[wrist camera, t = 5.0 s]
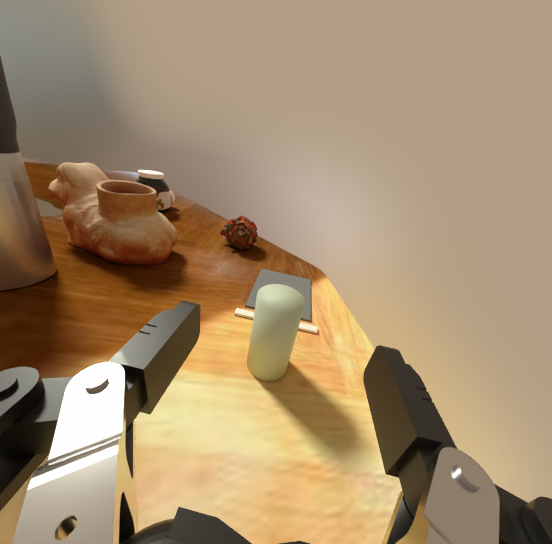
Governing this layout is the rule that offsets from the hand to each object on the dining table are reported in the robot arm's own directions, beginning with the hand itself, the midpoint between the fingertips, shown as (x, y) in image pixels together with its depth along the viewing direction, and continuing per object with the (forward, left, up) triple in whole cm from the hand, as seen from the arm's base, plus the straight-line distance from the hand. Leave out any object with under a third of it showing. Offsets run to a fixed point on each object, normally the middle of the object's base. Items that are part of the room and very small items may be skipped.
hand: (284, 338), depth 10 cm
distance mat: (0, +27, -15) cm, 31 cm away
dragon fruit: (-14, +47, -16) cm, 51 cm away
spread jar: (-47, +63, -16) cm, 80 cm away
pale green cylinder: (0, +12, -15) cm, 19 cm away
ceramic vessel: (-36, +33, -16) cm, 51 cm away
